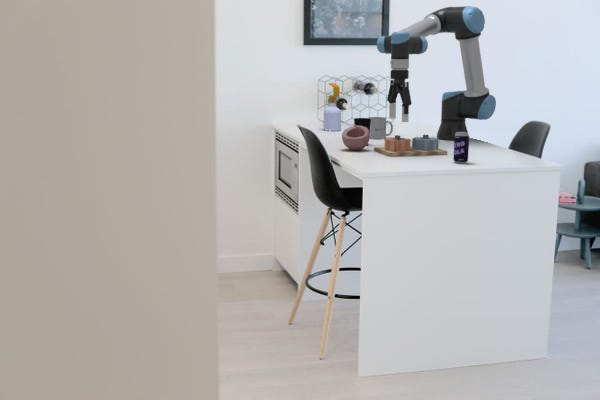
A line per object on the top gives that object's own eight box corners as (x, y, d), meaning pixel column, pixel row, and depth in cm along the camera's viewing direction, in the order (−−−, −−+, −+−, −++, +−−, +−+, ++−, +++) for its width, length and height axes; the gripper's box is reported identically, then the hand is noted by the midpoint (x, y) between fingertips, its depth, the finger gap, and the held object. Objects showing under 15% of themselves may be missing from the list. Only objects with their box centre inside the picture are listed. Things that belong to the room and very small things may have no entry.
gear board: (428, 149, 375) (429, 132, 373) (447, 154, 358) (447, 137, 356) (373, 150, 367) (374, 133, 366) (389, 156, 351) (390, 138, 349)
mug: (369, 139, 408) (370, 118, 406) (366, 137, 416) (367, 117, 414) (394, 139, 409) (395, 118, 407) (391, 137, 417) (391, 117, 416)
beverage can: (451, 161, 338) (453, 131, 336) (465, 161, 339) (467, 131, 337) (455, 163, 333) (456, 133, 330) (469, 163, 333) (471, 133, 331)
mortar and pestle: (337, 151, 366) (338, 124, 364) (346, 147, 377) (347, 122, 375) (364, 152, 362) (365, 126, 359) (372, 149, 373) (373, 123, 370)
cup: (369, 146, 382) (369, 119, 380) (352, 145, 384) (352, 119, 382) (371, 144, 390) (371, 118, 388) (354, 143, 391) (355, 117, 389)
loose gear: (404, 147, 368) (404, 137, 367) (414, 151, 357) (415, 140, 356) (380, 148, 364) (380, 138, 364) (390, 151, 354) (390, 141, 353)
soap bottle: (332, 129, 451) (332, 82, 447) (344, 130, 445) (345, 83, 440) (319, 130, 445) (320, 83, 441) (332, 131, 439) (332, 83, 434)
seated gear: (424, 146, 372) (424, 136, 371) (443, 149, 364) (444, 138, 363) (406, 148, 365) (407, 138, 364) (425, 151, 357) (426, 140, 356)
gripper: (380, 68, 365) (379, 117, 369) (403, 71, 341) (402, 123, 346) (396, 67, 367) (395, 116, 371) (420, 70, 344) (419, 123, 348)
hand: (398, 120), depth 359 cm, fingers open, 13 cm apart
